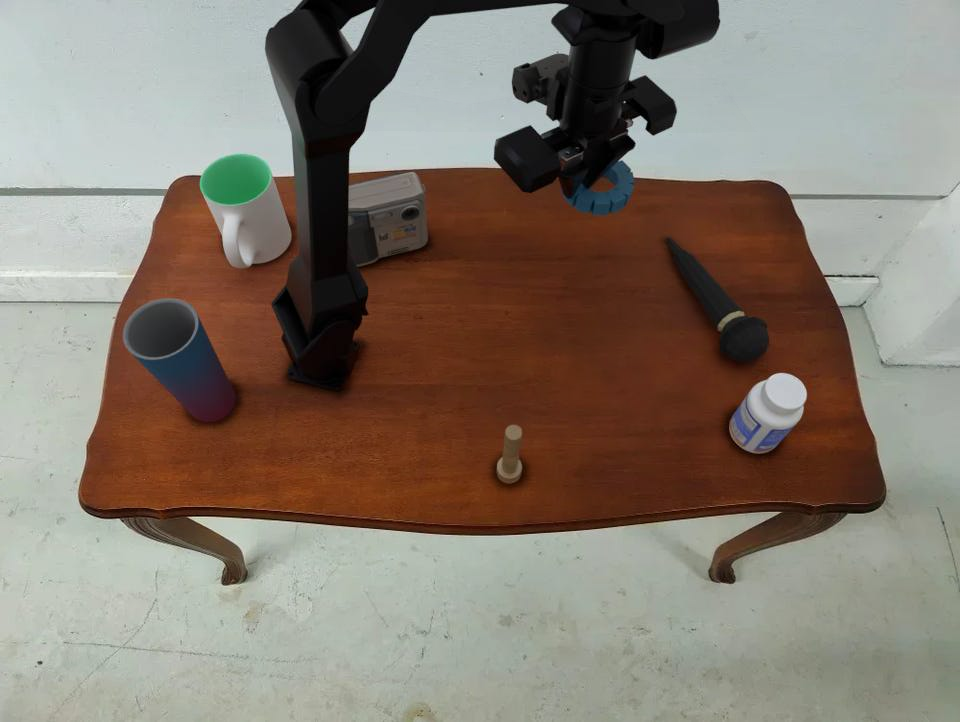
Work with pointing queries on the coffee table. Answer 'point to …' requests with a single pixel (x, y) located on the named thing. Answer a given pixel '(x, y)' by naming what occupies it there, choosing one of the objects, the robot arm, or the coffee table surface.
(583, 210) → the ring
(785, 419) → the pill bottle
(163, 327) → the cup
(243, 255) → the mug
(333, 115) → the robot arm
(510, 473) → the beige peg
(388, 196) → the camera
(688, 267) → the microphone
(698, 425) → the coffee table surface
